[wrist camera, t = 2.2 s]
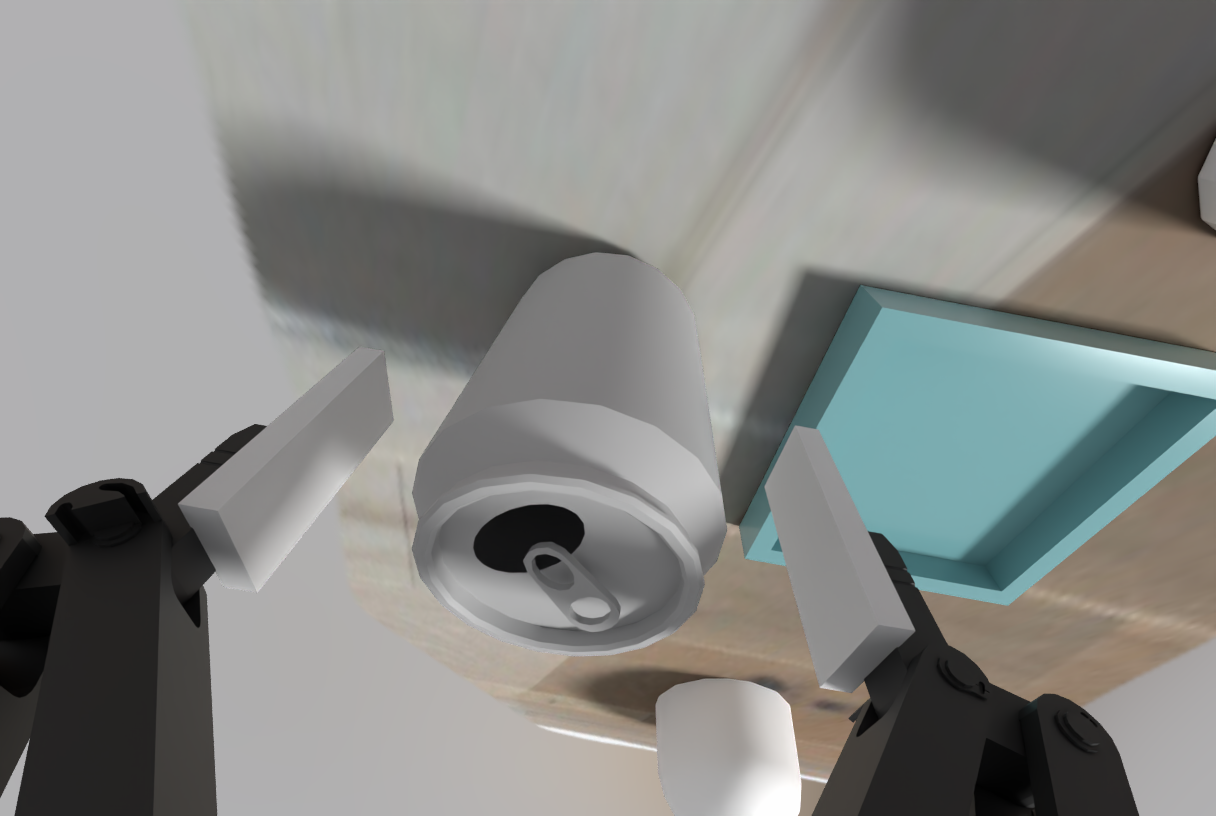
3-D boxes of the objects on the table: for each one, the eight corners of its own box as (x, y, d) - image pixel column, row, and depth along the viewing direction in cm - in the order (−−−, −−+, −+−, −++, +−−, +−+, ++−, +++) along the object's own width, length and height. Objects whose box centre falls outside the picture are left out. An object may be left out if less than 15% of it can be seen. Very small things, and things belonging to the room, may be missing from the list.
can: (617, 200, 16) (553, 378, 7) (733, 348, 19) (808, 623, 9) (483, 322, 20) (308, 561, 10) (599, 433, 22) (554, 702, 13)
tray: (860, 285, 17) (882, 307, 15) (1219, 353, 17) (1279, 382, 16) (739, 526, 25) (744, 558, 24) (984, 570, 26) (1007, 605, 24)
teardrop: (714, 745, 43) (730, 939, 33) (628, 702, 39) (618, 905, 30) (818, 716, 38) (873, 937, 28) (730, 662, 34) (758, 895, 24)
